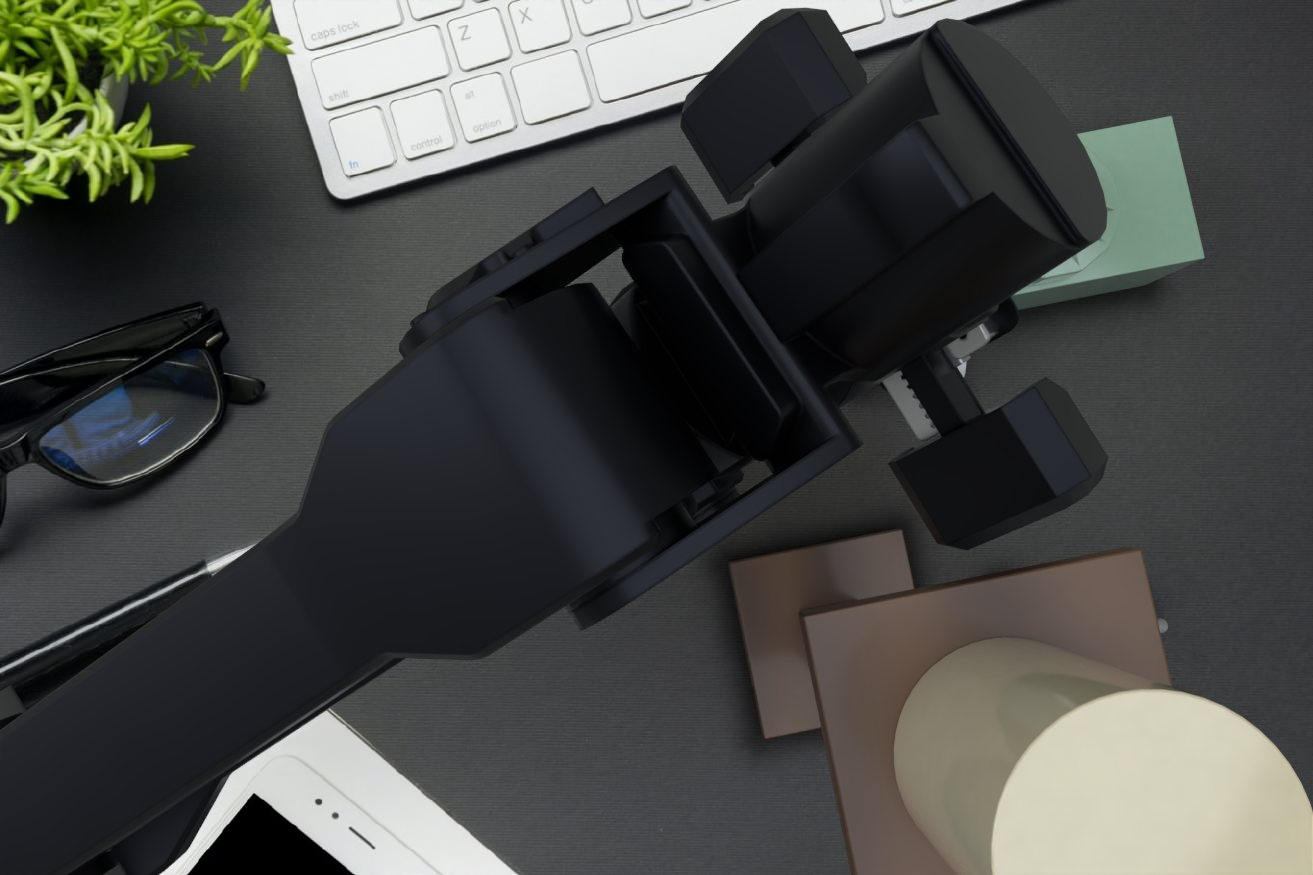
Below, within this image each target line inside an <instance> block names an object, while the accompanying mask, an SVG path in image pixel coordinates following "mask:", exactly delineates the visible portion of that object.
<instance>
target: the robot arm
mask: <svg viewBox="0 0 1313 875" xmlns="http://www.w3.org/2000/svg"><path fill="white" fill-rule="evenodd" d="M867 76H868V74H867V72H866V70H865V68H864V67H863V66H862V64H861V62H860V61H859V59H858V58H857V56H856V54H855V52H854V51H853V50H852V48H851V47H850V45H849V43H848V42H847V41H846V38H845V37H844V36H843V34H842V32H841V31H840V29H839V28H838V26H837V24H836V23H835V21H834V20H833V18H832V16H831V15H830V13H829V12H828V10H827V9H823V8H821V9H820V8H813V7H790V8H789V7H788V8H787V7H786V8H785V7H784V8H780V9H778V10H777V11H775V12H773V13H772V14H770V15H769V16H766V17H765V18H763V19H761V20H760V21H759V22H758V23H757V24H756V25H755V26H754V27H753V28H752V29H751V30H750V31H749V32H748V33H747V34H746V35H745V36H744V37H743V38H742V39H741V40H740V41H739V42H738V43H737V44H736V45H735V46H734V47H733V48H732V49H730V51H729V52H728V53H727V54H726V55H725V56H724V57H723V58H721V60H720V61H719V62H718V63H717V64H716V65H715V66H714V67H713V68H712V69H711V70H710V71H709V72H708V73H707V74H705V76H704V77H703V78H702V79H701V80H700V81H699V82H698V83H697V84H696V85H695V86H694V87H693V88H692V89H691V90H689V92H688V93H687V94H686V96H685V99H684V102H683V106H682V109H681V113H680V125H679V127H680V130H681V131H682V133H683V134H684V136H685V138H686V139H687V141H688V142H689V144H690V146H691V147H692V149H693V150H694V152H695V154H696V156H697V157H698V159H699V160H700V162H701V163H702V165H703V167H704V169H705V170H706V172H707V173H708V175H709V177H710V178H711V180H712V182H713V183H714V185H715V186H716V188H717V189H718V191H719V193H720V194H721V196H722V197H723V200H724V201H725V202H726V204H727V205H732V204H734V203H739V204H738V205H737V207H736V209H735V211H734V212H732V213H729V214H726V215H723V216H721V217H717V218H715V219H712V217H711V215H710V214H709V212H708V211H707V209H706V208H705V206H704V204H702V201H700V199H699V197H698V196H697V195H696V193H695V191H694V190H693V188H692V187H691V185H690V184H689V182H688V181H687V179H686V178H685V177H684V175H683V173H681V170H680V169H679V168H678V166H677V165H676V164H675V165H674V164H673V165H670V166H667V167H665V168H663V169H661V170H659V171H658V172H656V173H655V174H653V175H652V176H650V177H648V178H646V179H645V180H643V181H641V182H640V183H638V184H636V185H635V186H633V187H631V188H630V189H628V190H627V191H624V192H623V193H621V194H619V195H618V196H616V197H615V198H613V199H611V200H610V201H607V202H606V203H605V202H604V200H603V198H601V196H600V194H599V192H598V191H597V189H596V188H595V186H591V187H590V188H588V189H587V190H585V191H583V192H582V193H580V195H579V194H578V196H576V197H575V198H573V199H571V200H570V201H568V202H567V203H565V204H564V205H563V206H561V207H560V208H558V209H557V210H555V211H553V212H552V213H550V214H549V215H548V216H546V217H544V218H543V219H542V220H540V221H539V222H537V223H535V224H534V225H533V226H531V227H530V228H528V229H527V230H525V231H523V232H522V233H520V234H519V235H517V236H516V237H514V238H513V239H511V240H510V241H508V242H507V243H506V244H504V245H503V246H501V247H500V248H497V249H496V250H495V251H493V252H491V254H489V255H488V256H486V257H485V258H483V259H481V260H480V261H478V262H477V263H475V264H474V265H472V266H471V267H469V268H468V269H467V270H465V271H463V272H462V273H460V274H458V275H456V277H454V278H452V280H450V281H449V282H447V283H445V284H444V285H443V286H441V287H440V288H439V289H437V290H436V291H435V292H434V293H433V294H432V295H431V296H430V297H429V299H428V301H427V305H426V308H425V311H423V312H421V313H419V314H418V315H416V316H415V317H413V318H412V319H411V320H410V322H409V326H410V328H409V329H408V330H407V331H406V333H405V334H404V336H403V337H402V338H401V340H400V341H399V343H398V352H399V353H400V356H401V357H402V359H401V360H400V361H399V362H397V363H396V364H395V365H394V366H393V367H391V369H389V370H388V371H387V372H386V373H384V374H383V375H382V376H381V377H380V378H379V379H377V380H376V381H375V382H373V384H372V385H370V386H369V387H368V388H366V389H365V390H364V391H363V392H361V393H360V395H358V396H356V397H355V399H353V400H352V401H351V402H350V403H348V404H347V405H346V406H344V408H343V409H341V410H340V411H339V412H338V413H337V414H335V415H334V416H333V417H332V418H331V419H330V420H329V421H328V423H327V425H326V426H325V428H324V431H323V434H322V436H321V440H320V443H319V446H318V448H317V452H316V455H315V458H314V461H313V463H312V466H311V469H310V473H309V476H308V479H307V481H306V485H305V488H304V490H303V494H302V497H301V500H300V503H299V506H298V508H297V511H296V512H295V513H294V514H293V515H292V516H291V517H289V518H287V520H285V521H284V522H282V524H281V525H279V526H278V527H276V528H275V529H274V530H273V531H272V532H270V533H269V534H268V535H266V536H264V538H263V539H261V540H259V541H258V542H257V543H256V544H254V545H253V546H251V547H250V548H249V549H248V550H246V551H244V552H243V553H242V554H240V555H239V556H238V557H236V558H235V559H234V560H232V561H230V562H229V563H228V564H227V565H225V566H223V567H222V568H221V569H220V570H218V571H217V572H216V573H214V574H213V575H212V576H210V577H209V578H207V579H206V580H205V581H203V582H201V583H200V584H199V585H198V586H196V587H195V588H193V589H192V590H191V591H190V592H188V593H186V594H185V595H184V596H182V597H181V598H180V599H179V600H177V601H176V602H174V603H173V604H172V605H170V606H169V607H168V608H166V609H165V610H163V611H162V612H161V613H159V614H158V615H156V616H155V617H154V618H152V619H151V620H150V621H148V622H147V623H146V624H144V625H143V626H141V627H140V628H138V629H137V630H136V631H135V632H133V633H132V634H130V635H129V636H128V637H126V638H125V639H123V640H122V641H120V642H119V643H117V644H116V645H115V646H114V647H112V648H111V649H110V650H108V651H107V652H105V653H104V654H103V655H101V656H100V657H99V658H97V659H96V660H95V661H93V662H92V663H90V664H89V665H88V666H86V667H85V668H83V669H82V670H81V671H79V672H78V673H76V674H75V675H74V676H73V677H71V678H70V679H69V680H67V681H65V683H62V685H60V686H59V687H57V688H56V689H54V690H53V691H52V692H50V693H48V694H46V695H45V696H43V697H41V698H39V699H37V700H36V701H34V702H32V703H30V704H29V705H27V706H25V704H24V703H23V701H22V699H21V698H20V697H19V695H18V694H17V692H16V690H15V688H14V687H13V685H12V684H11V685H9V686H7V687H5V688H3V689H1V690H0V875H161V874H162V873H164V872H165V871H166V870H168V869H169V868H170V867H171V866H172V865H173V864H174V863H176V862H177V861H178V860H179V859H180V858H182V856H183V855H184V854H186V853H187V852H188V851H189V849H190V848H191V846H192V844H193V843H194V840H195V839H196V837H197V835H198V833H199V831H200V830H201V828H202V826H203V825H204V823H205V821H206V819H207V818H208V815H209V814H210V812H211V810H212V809H213V806H214V805H215V803H216V801H217V799H218V797H219V796H220V794H221V792H222V790H223V789H224V787H225V785H226V783H227V782H228V780H229V778H230V776H231V775H232V774H233V773H234V772H236V771H237V770H239V769H240V768H242V767H243V766H245V765H246V764H247V763H249V762H251V761H252V760H254V759H255V758H257V757H258V756H259V755H262V754H263V753H265V752H266V751H267V750H269V749H271V748H272V747H274V746H275V745H276V744H278V743H280V742H281V741H282V740H284V739H286V738H287V737H289V736H290V735H292V734H293V733H295V732H297V731H298V730H299V729H301V728H302V727H304V726H306V725H308V723H310V722H311V721H313V720H315V719H317V717H319V716H321V715H322V714H323V713H326V712H327V711H329V710H330V709H331V708H333V707H335V706H336V705H337V704H339V703H340V702H342V701H343V700H345V699H346V698H348V697H350V696H351V695H352V694H354V693H356V692H357V691H359V690H360V689H362V688H364V687H365V686H366V685H368V684H369V683H371V682H373V681H374V680H376V679H378V677H380V676H381V675H383V674H384V673H386V672H388V671H389V670H391V669H392V668H394V667H395V666H397V665H398V664H400V663H401V662H403V661H405V660H406V659H417V660H447V661H448V660H449V661H480V660H483V659H485V658H487V657H489V656H491V655H492V654H494V653H495V652H497V651H498V650H500V649H502V648H503V647H505V646H506V645H508V644H509V643H511V642H512V641H514V640H516V639H517V638H519V637H521V635H523V634H525V633H527V632H528V631H529V630H531V629H533V628H534V627H536V626H537V625H539V624H541V623H542V622H544V621H545V620H547V619H548V618H549V617H551V616H553V615H554V614H556V613H557V612H560V611H561V610H562V609H564V608H565V609H566V610H567V612H568V614H569V616H570V617H571V619H572V620H573V622H574V623H575V624H576V626H577V628H578V629H579V631H580V632H581V631H585V630H587V629H589V628H591V627H593V626H594V625H597V624H598V623H600V622H602V621H603V620H605V619H606V618H608V617H610V616H611V615H613V614H614V613H616V612H618V611H620V610H621V609H623V608H624V607H626V606H627V605H629V604H630V603H632V602H634V601H635V600H636V599H638V598H640V597H642V596H643V595H644V594H646V593H647V592H648V591H650V590H652V589H653V588H655V587H656V586H657V585H660V583H662V582H664V581H665V580H666V579H668V578H669V577H671V576H673V574H676V573H677V572H678V571H680V570H681V569H683V568H684V567H686V566H688V564H690V563H691V562H693V561H694V560H696V559H697V558H699V557H701V556H702V555H703V554H704V553H706V552H708V551H710V549H713V547H715V546H717V545H718V544H720V543H721V542H722V541H724V540H726V539H727V538H729V537H731V535H733V534H735V533H736V532H737V531H739V530H740V529H742V528H743V527H745V526H746V525H748V524H749V523H750V522H752V521H754V520H755V519H756V518H758V517H759V516H761V515H762V514H764V513H765V512H768V510H770V509H771V508H773V507H774V506H776V505H777V504H779V503H780V502H781V501H783V500H784V499H786V498H788V497H789V496H790V495H792V494H794V493H795V492H796V491H798V490H799V489H801V488H802V487H804V486H805V485H807V484H808V483H810V482H811V481H812V480H814V479H816V478H818V477H819V476H820V475H821V474H823V473H824V472H825V471H828V470H829V469H830V468H831V467H833V466H835V465H836V464H837V463H839V462H841V461H842V460H843V459H845V458H846V457H848V456H849V455H851V454H852V453H854V452H856V451H857V450H858V449H859V448H861V447H862V446H863V445H864V442H863V441H862V439H861V437H859V435H858V433H857V432H856V430H855V429H854V428H853V426H852V424H851V423H850V421H849V420H848V418H847V417H846V415H845V413H844V412H843V411H842V409H841V408H842V407H844V406H845V405H847V404H849V403H850V402H852V401H854V400H856V399H857V398H858V397H861V396H862V395H863V394H865V393H867V392H868V391H870V390H872V389H873V388H875V387H876V386H878V385H880V387H881V388H882V389H883V390H884V391H886V392H887V393H888V394H889V395H890V397H891V399H892V401H893V402H894V404H895V405H896V406H897V408H898V410H899V411H900V413H901V414H902V417H903V418H904V419H905V421H906V423H907V424H908V426H909V427H910V429H911V431H912V433H913V434H914V436H915V437H916V439H917V440H919V441H921V442H924V443H923V444H921V445H919V446H917V447H914V446H912V447H911V448H908V449H906V450H904V451H902V452H900V453H899V454H897V455H896V456H895V457H893V458H892V459H891V460H890V461H888V462H887V465H888V467H889V468H890V470H891V471H892V473H893V475H894V476H895V478H896V480H897V481H898V482H899V484H900V487H902V489H903V491H904V492H905V494H906V496H907V497H908V499H909V500H910V503H911V504H912V506H913V507H914V509H915V510H916V512H917V514H918V515H919V517H920V518H921V520H922V521H923V523H924V525H925V526H926V528H927V530H928V531H929V533H930V534H931V536H932V538H933V540H934V541H935V543H936V544H937V545H941V546H944V547H949V548H954V549H957V550H962V551H969V550H972V549H975V548H976V547H979V546H982V545H985V544H986V543H988V542H991V541H994V540H996V539H998V538H1000V537H1003V536H1005V535H1007V534H1009V533H1012V532H1015V531H1016V530H1019V529H1021V528H1024V527H1026V526H1029V525H1031V524H1034V523H1036V522H1038V521H1040V520H1043V519H1045V518H1047V517H1049V516H1050V517H1051V516H1052V515H1054V514H1057V513H1059V512H1062V511H1064V510H1067V509H1069V507H1072V506H1073V505H1075V504H1076V503H1078V502H1079V501H1081V500H1082V499H1084V498H1086V497H1088V496H1089V495H1090V493H1091V492H1092V491H1093V490H1094V489H1095V488H1096V487H1097V485H1098V484H1099V483H1101V481H1102V480H1103V478H1104V474H1105V471H1106V467H1107V464H1108V461H1109V456H1108V454H1107V452H1106V451H1105V449H1104V447H1102V444H1101V443H1100V441H1099V440H1098V438H1097V437H1096V435H1095V433H1094V432H1093V429H1092V428H1091V427H1090V426H1089V424H1088V422H1087V420H1086V419H1085V417H1084V416H1083V414H1082V413H1081V411H1080V409H1079V408H1078V406H1077V404H1076V402H1074V400H1073V399H1072V397H1071V395H1070V394H1069V392H1068V391H1067V389H1065V388H1063V387H1062V386H1060V385H1059V384H1057V383H1056V382H1054V381H1053V380H1052V379H1050V378H1048V377H1047V376H1045V377H1043V378H1041V379H1039V380H1037V381H1036V382H1033V383H1032V384H1030V385H1029V386H1027V387H1026V388H1025V389H1024V390H1023V391H1022V392H1019V393H1018V394H1016V395H1014V396H1013V397H1010V398H1008V399H1006V400H1004V401H1003V402H1001V403H999V404H997V405H995V406H993V407H991V408H990V409H988V410H986V411H985V409H984V407H983V406H982V405H981V403H980V400H978V398H977V397H976V395H975V393H974V392H973V390H972V389H971V387H970V386H969V384H968V382H967V380H966V379H965V376H964V377H963V376H962V374H961V372H960V371H959V369H958V368H957V367H958V366H960V365H961V364H963V363H965V362H966V363H967V362H968V361H969V360H970V359H972V356H971V355H972V354H974V353H975V352H977V351H978V350H980V349H982V348H984V347H986V346H988V345H989V344H991V343H993V342H994V341H996V340H998V339H1000V338H1002V337H1003V336H1005V335H1007V334H1008V333H1011V331H1013V330H1014V329H1015V328H1016V327H1017V325H1018V323H1019V320H1020V310H1018V307H1017V305H1016V304H1015V302H1014V301H1013V299H1012V297H1011V296H1012V295H1014V294H1015V293H1017V292H1018V291H1020V290H1022V289H1023V288H1025V287H1026V286H1028V285H1029V284H1031V283H1032V282H1034V281H1036V280H1037V279H1039V278H1040V277H1042V276H1043V275H1045V274H1046V273H1048V272H1050V271H1051V270H1053V269H1054V268H1056V267H1057V266H1059V265H1060V264H1062V263H1063V262H1065V261H1067V260H1068V259H1070V258H1071V257H1073V256H1074V255H1076V254H1077V253H1079V252H1081V251H1082V250H1084V249H1085V248H1087V247H1088V246H1090V245H1091V244H1093V243H1095V242H1096V241H1098V240H1099V239H1100V238H1101V237H1102V235H1103V233H1104V232H1105V230H1106V227H1107V207H1106V202H1105V196H1104V192H1103V189H1102V186H1101V184H1100V181H1099V178H1098V175H1097V172H1096V170H1095V168H1094V166H1093V164H1092V162H1091V160H1090V157H1089V155H1088V153H1087V151H1086V149H1085V147H1084V145H1083V144H1082V142H1081V140H1080V139H1079V137H1078V135H1077V134H1078V133H1077V132H1076V131H1075V129H1074V127H1073V125H1072V123H1071V122H1070V120H1069V119H1068V117H1067V116H1066V115H1065V113H1064V112H1063V110H1062V108H1061V107H1060V106H1059V105H1058V103H1057V102H1056V101H1055V99H1054V98H1053V97H1052V96H1051V95H1050V93H1049V92H1048V91H1047V90H1046V88H1045V87H1044V85H1043V84H1041V82H1040V81H1039V80H1038V78H1036V76H1035V75H1033V73H1032V72H1031V71H1030V70H1029V69H1028V68H1027V67H1026V65H1024V64H1023V63H1022V62H1021V61H1020V60H1019V59H1018V58H1017V57H1016V56H1015V55H1014V54H1013V53H1011V52H1010V51H1009V50H1008V49H1007V48H1006V47H1005V46H1004V45H1003V44H1002V43H1000V42H999V41H998V40H996V39H995V38H993V37H992V36H990V35H989V34H988V33H986V32H985V31H984V30H982V29H980V28H979V27H977V26H974V25H972V24H970V23H968V22H966V21H963V20H961V19H954V18H948V17H945V18H943V19H938V20H936V21H935V22H934V23H933V24H932V25H931V26H930V27H928V28H927V29H926V30H925V31H924V32H923V33H921V35H920V36H918V37H917V38H916V39H915V40H914V41H913V42H912V43H911V44H910V45H908V46H907V47H906V48H905V49H904V50H903V51H902V52H901V53H899V55H898V56H896V57H895V58H894V59H893V60H892V61H890V63H889V64H887V66H886V67H884V68H883V69H882V70H881V71H880V72H879V73H878V74H876V76H874V77H873V78H872V79H870V81H869V82H868V77H867ZM763 176H764V177H763ZM762 177H763V178H762ZM761 178H762V179H761ZM760 179H761V180H760ZM758 180H760V181H759V182H758ZM756 182H758V183H756ZM755 183H756V185H755ZM620 249H621V250H623V251H622V252H621V263H622V265H623V267H624V269H625V270H626V272H627V274H628V275H629V277H630V278H631V280H632V281H631V282H630V283H629V284H628V285H626V286H624V287H623V288H622V289H621V290H620V291H619V292H618V294H617V295H616V296H615V297H614V298H613V300H612V301H611V302H610V303H608V301H607V300H606V299H605V297H604V296H603V294H602V293H601V292H600V290H599V288H598V287H597V286H596V285H595V284H594V283H593V282H592V281H591V282H590V281H589V282H578V283H573V282H574V281H576V280H578V279H579V278H580V277H581V276H583V275H584V274H585V273H587V272H589V271H590V270H591V269H593V268H594V267H596V266H597V265H598V264H600V263H601V262H602V261H604V260H605V259H607V258H608V257H610V256H611V255H613V254H614V253H616V252H617V251H618V250H620ZM572 283H573V284H572ZM755 461H756V462H764V463H765V465H766V467H767V468H768V469H769V471H770V473H771V474H770V475H769V476H768V477H765V479H763V480H760V482H758V483H757V484H756V485H754V486H752V487H751V488H749V489H748V490H746V491H745V492H743V493H740V492H739V491H738V489H737V488H736V486H737V485H739V484H740V483H741V482H742V481H744V478H745V477H744V476H745V472H744V471H743V469H744V468H746V467H747V466H749V465H751V464H752V463H754V462H755Z"/></svg>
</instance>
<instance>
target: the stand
mask: <svg viewBox="0 0 1313 875" xmlns="http://www.w3.org/2000/svg"><path fill="white" fill-rule="evenodd" d="M1144 557H1145V556H1144V553H1143V550H1142V549H1141V548H1136V547H1125V546H1124V547H1119V548H1112V549H1107V550H1104V551H1098V552H1094V553H1088V554H1082V555H1079V556H1073V557H1068V558H1063V559H1058V560H1052V561H1049V562H1043V563H1037V564H1033V565H1028V566H1023V567H1019V568H1018V567H1017V568H1012V569H1007V570H1002V571H998V572H997V571H996V572H992V573H987V574H982V575H977V576H972V577H967V578H962V579H957V580H951V581H947V582H946V581H945V582H942V583H937V584H932V585H926V586H921V587H918V588H916V587H915V583H914V578H913V574H912V569H911V564H910V558H909V554H908V550H907V546H906V540H905V536H904V531H903V529H901V528H893V529H887V530H883V531H877V532H872V533H867V534H863V535H858V536H852V537H847V538H842V539H837V540H831V541H826V542H822V543H816V544H812V545H805V546H802V547H796V548H792V549H786V550H782V551H776V552H772V553H771V552H770V553H766V554H760V555H756V556H750V557H745V558H740V559H736V560H731V561H728V562H727V565H728V571H729V575H730V581H731V585H732V590H733V595H734V601H735V607H736V610H737V615H738V620H739V625H740V630H741V636H742V641H743V646H744V652H745V657H746V661H747V666H748V671H749V676H750V681H751V686H752V690H753V692H752V693H753V696H754V702H755V706H756V712H757V716H758V717H757V718H758V721H759V726H760V731H761V734H762V737H763V739H764V740H768V739H773V738H779V737H784V736H789V735H794V734H798V733H799V734H800V733H803V732H809V731H814V730H818V729H820V730H821V733H822V739H823V743H824V749H825V754H826V759H827V763H828V768H829V773H830V774H829V775H830V777H831V783H832V787H833V788H832V789H833V793H834V799H835V804H836V807H837V812H838V818H839V823H840V827H841V832H842V838H843V842H844V847H845V853H846V857H847V862H848V867H849V872H850V875H956V874H955V872H954V871H953V870H952V869H951V867H950V866H949V865H948V864H947V863H946V861H945V860H944V859H943V858H942V857H941V855H940V854H939V853H938V852H937V851H936V849H935V848H934V847H933V846H932V845H931V843H930V842H929V841H928V840H927V838H926V837H925V836H924V835H923V834H922V832H921V831H920V830H919V828H918V827H917V826H916V824H915V823H914V821H913V820H912V818H911V816H910V814H909V813H908V811H907V809H906V807H905V805H904V802H903V800H902V797H901V795H900V792H899V788H898V784H897V781H896V775H895V768H894V741H895V733H896V729H897V725H898V721H899V717H900V714H901V712H902V709H903V707H904V704H905V702H906V700H907V699H908V697H909V695H910V693H911V691H912V690H913V688H914V687H915V686H916V684H917V683H918V682H919V680H920V679H921V678H922V676H923V675H924V674H925V673H926V672H927V671H928V670H929V669H930V668H931V667H932V666H933V665H935V664H936V663H937V662H939V661H940V660H941V659H942V658H944V657H945V656H947V655H949V654H950V653H952V652H954V651H955V650H957V649H959V648H962V647H964V646H966V645H969V644H971V643H975V642H979V641H982V640H986V639H993V638H1001V637H1013V638H1024V639H1031V640H1035V641H1039V642H1043V643H1046V644H1049V645H1052V646H1055V647H1058V648H1061V649H1064V650H1067V651H1070V652H1073V653H1075V654H1078V655H1081V656H1084V657H1087V658H1090V659H1093V660H1096V661H1099V662H1102V663H1105V664H1108V665H1111V666H1113V667H1116V668H1119V669H1122V670H1125V671H1128V672H1131V673H1134V674H1137V675H1140V676H1143V677H1146V678H1148V679H1151V680H1154V681H1157V682H1160V683H1163V684H1166V685H1169V686H1172V687H1173V682H1172V678H1171V674H1170V670H1169V665H1168V661H1167V656H1166V651H1165V648H1164V642H1163V637H1162V633H1160V629H1159V624H1158V620H1157V618H1158V615H1157V612H1156V606H1155V603H1154V602H1155V601H1154V598H1153V594H1152V589H1151V584H1150V580H1149V575H1148V571H1147V567H1146V561H1145V558H1144Z"/></svg>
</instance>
